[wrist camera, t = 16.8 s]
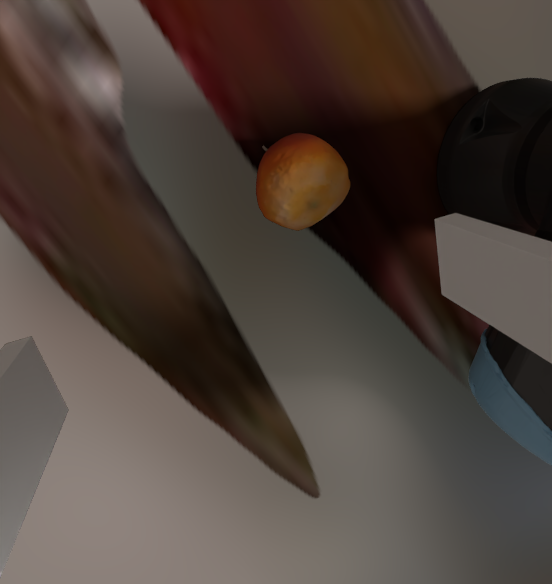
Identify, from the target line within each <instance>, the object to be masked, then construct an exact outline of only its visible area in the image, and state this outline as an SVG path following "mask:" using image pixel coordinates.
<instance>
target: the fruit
mask: <svg viewBox="0 0 552 584" xmlns="http://www.w3.org/2000/svg"><path fill="white" fill-rule="evenodd" d="M262 148H263V149H264V150H265V151H266V152H265V154H264V155H263V157H262V160H261V162H260V164H259V168H258V172H257V182H256V195H257V201H258V205H259V208H260V210H261V211H262V213H263V215H264V217H265V218H267V219H268V220H270V221H272V222H274V223H276V224H278V225H280V226H283V227H286V228H289V229H293V230H298V231H299V230H302V229H304V228H307V227H310V226H312V225H314V224H315V223H317V222H319V221H320V220H322V219H323V218H324V217H326V216H327V215H328V214H330V213H331V212H332V211H334V210H335V209H336V208H337V207H338V206H339V205H340V204H341V203H342V202H343V200H344V199H345V197H346V195H347V194H348V191H349V189H350V180H349V178H348V168H347V166H346V164H345V162H344V161H343V159H342V158H341V156H340V155H339V154H338V152H337V151H336V150H335V149H334V148H333V147H332V146H331V145H330V144H328V143H327V142H325V141H324V140H322V139H320V138H318V137H316V136H314V135H310V134H305V133H295V134H291V135H288V136H286V137H283V138H282V139H280V140H279V141H277V142H276V143H275V144H273V145H272V146H271V147H270V148H269V149H267V148H266V147H265V146H264V145H263V146H262Z"/></svg>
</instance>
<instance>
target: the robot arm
mask: <svg viewBox="0 0 552 584" xmlns="http://www.w3.org/2000/svg"><path fill="white" fill-rule="evenodd" d="M437 182H438V189H439V193H440V197H441V200H442V202H443V205H444V207H445V209H446V210H447V212H448V213H449V215H447V216H443V217H440V218H436V219H434V220H435V230H436V240H437V250H438V261H439V271H440V281H441V291H442V295H444V296H445V297H447V298H448V299H450V300H452V301H453V302H455V303H456V304H458V305H459V306H461V307H463V308H464V309H466V310H467V311H469V312H471V313H472V314H474V315H475V316H477V317H479V318H480V319H482V320H483V321H485V322H486V323H488V324H490V325H489V327H488V329H485V330H484V332H483V334H482V336H481V344H480V346H479V348H478V351H477V353H476V356H475V358H474V360H473V363H472V365H471V367H470V371H469V385H470V388H471V390H472V393H473V395H474V396H475V398H476V400H477V401H478V404H479V405H480V406H481V408H482V409H483V410H484V411H485V412H486V414H487V415H488V416H489V417H490V418H491V419H492V420H493V421H494V422H495V423H496V424H497V425H498V426H499V427H500V428H501V429H502V430H503V431H504V432H506V433H507V434H508V435H509V436H510V437H512V438H513V439H514V440H515V441H516V442H518V443H519V444H520V445H522V446H523V447H524V448H526V449H527V450H528V451H530V452H531V453H533V454H534V455H536V456H537V457H539V458H540V459H542V460H543V461H545V462H546V463H548V464H550V465H552V81H550V80H546V79H541V78H540V79H539V78H522V79H516V80H509V81H505V82H500V83H497V84H494V85H492V86H490V87H488V88H486V89H484V90H482V91H481V92H479V93H478V94H477V95H475V96H474V97H473V98H472V99H470V100H469V101H468V102H467V103H466V104H465V105H464V106H463V108H462V109H461V110H460V111H459V112H458V114H457V115H456V116H455V118H454V119H453V121H452V123H451V124H450V126H449V128H448V130H447V132H446V134H445V137H444V139H443V142H442V145H441V149H440V152H439V157H438V165H437ZM67 412H68V408H67V406H66V404H65V402H64V400H63V398H62V396H61V394H60V392H59V390H58V388H57V386H56V384H55V382H54V380H53V378H52V376H51V374H50V372H49V370H48V368H47V366H46V364H45V362H44V360H43V358H42V356H41V354H40V352H39V350H38V348H37V346H36V344H35V342H34V340H33V338H32V336H31V337H27V338H24V339H20V340H17V341H13V342H10V343H7V344H5V345H4V346H3V348H2V349H1V350H0V577H1V575H2V572H3V570H4V567H5V565H6V562H7V560H8V557H9V555H10V552H11V550H12V548H13V545H14V543H15V540H16V538H17V535H18V533H19V530H20V528H21V525H22V523H23V521H24V518H25V516H26V513H27V511H28V508H29V506H30V503H31V501H32V498H33V496H34V493H35V491H36V489H37V486H38V483H39V481H40V479H41V476H42V474H43V471H44V469H45V467H46V464H47V461H48V459H49V457H50V454H51V452H52V449H53V447H54V444H55V442H56V440H57V437H58V434H59V432H60V430H61V427H62V425H63V422H64V420H65V417H66V415H67Z"/></svg>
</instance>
